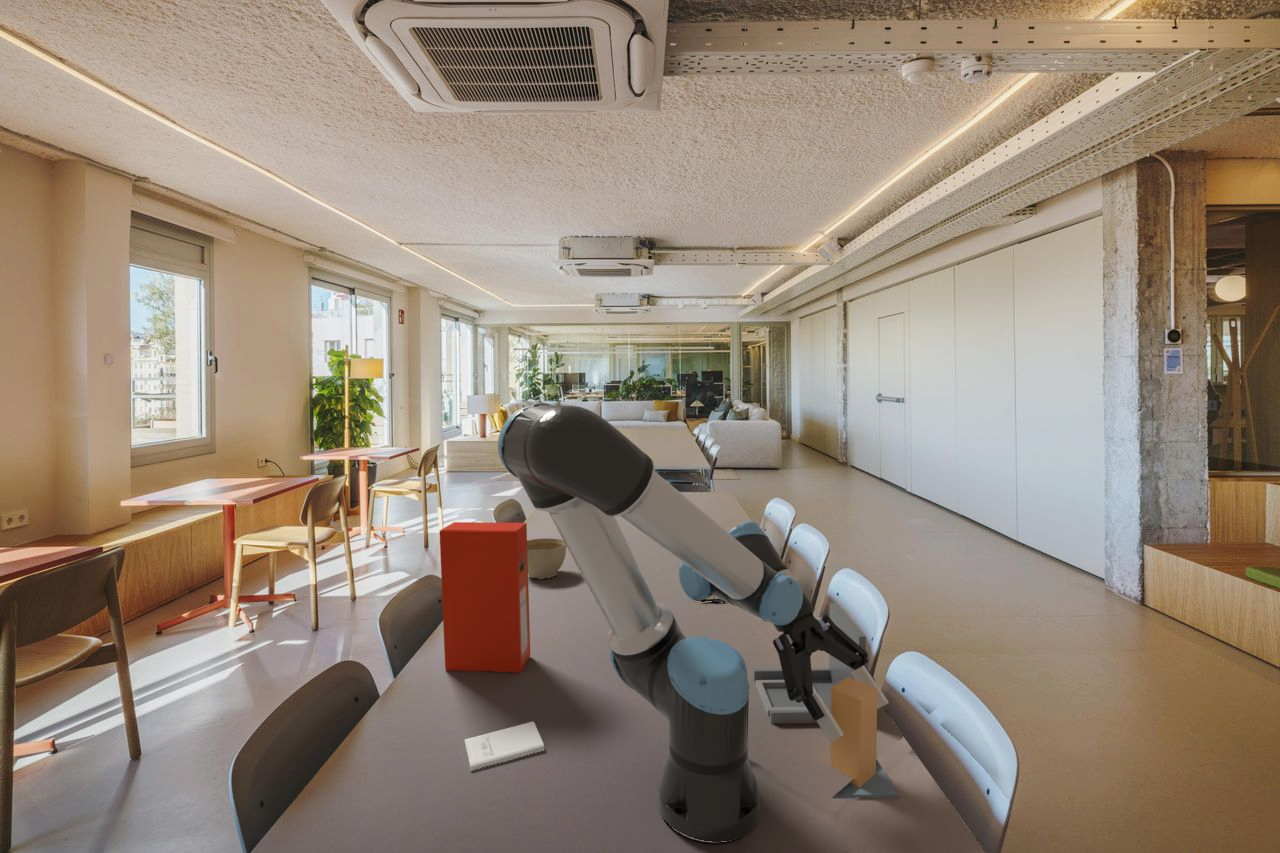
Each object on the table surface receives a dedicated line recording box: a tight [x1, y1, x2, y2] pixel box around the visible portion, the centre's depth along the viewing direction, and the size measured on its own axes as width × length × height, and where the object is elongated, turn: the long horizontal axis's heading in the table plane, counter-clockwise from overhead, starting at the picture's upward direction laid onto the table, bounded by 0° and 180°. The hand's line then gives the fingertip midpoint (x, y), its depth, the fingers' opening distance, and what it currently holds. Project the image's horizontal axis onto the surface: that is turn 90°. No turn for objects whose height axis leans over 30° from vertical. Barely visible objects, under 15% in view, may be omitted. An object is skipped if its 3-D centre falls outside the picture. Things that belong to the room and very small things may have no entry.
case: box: [753, 602, 867, 725], centre depth 111 cm, size 18×16×18 cm
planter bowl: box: [527, 537, 567, 579], centre depth 192 cm, size 16×16×11 cm
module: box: [830, 677, 878, 788], centre depth 91 cm, size 5×5×14 cm
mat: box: [832, 758, 900, 799], centre depth 91 cm, size 10×10×1 cm
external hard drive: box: [463, 721, 545, 772], centre depth 100 cm, size 2×8×12 cm
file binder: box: [439, 521, 531, 674], centre depth 129 cm, size 8×17×32 cm, turn 85°
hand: (860, 721), depth 91 cm, fingers open, 13 cm apart
